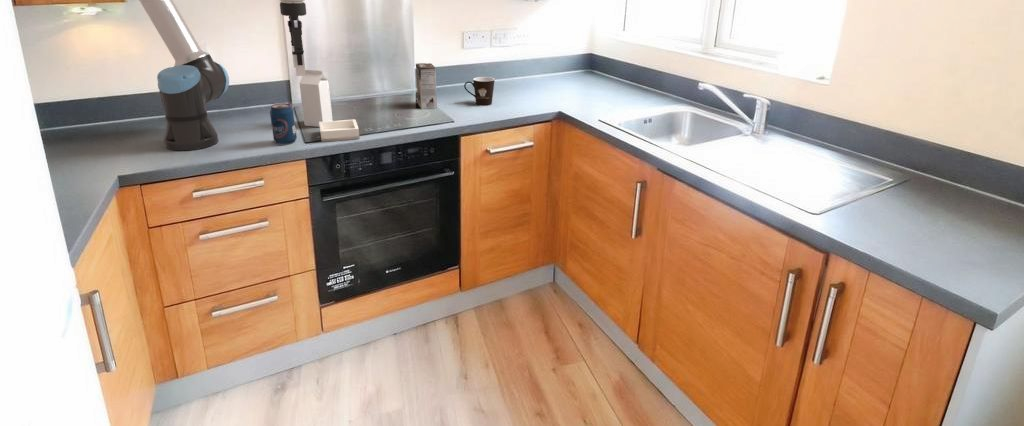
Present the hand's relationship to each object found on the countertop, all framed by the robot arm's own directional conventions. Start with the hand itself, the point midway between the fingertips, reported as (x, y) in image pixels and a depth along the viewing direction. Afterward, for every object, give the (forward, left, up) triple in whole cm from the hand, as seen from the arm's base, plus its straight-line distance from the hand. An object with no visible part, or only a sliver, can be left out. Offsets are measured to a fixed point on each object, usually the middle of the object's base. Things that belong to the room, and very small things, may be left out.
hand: (299, 71), depth 194 cm
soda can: (-7, -7, -21) cm, 23 cm away
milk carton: (+4, +12, -21) cm, 25 cm away
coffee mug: (+68, +27, -21) cm, 76 cm away
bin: (+10, -4, -21) cm, 24 cm away
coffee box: (+46, +28, -21) cm, 58 cm away
